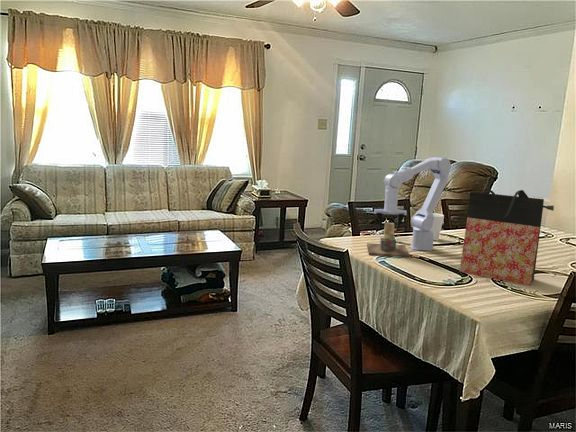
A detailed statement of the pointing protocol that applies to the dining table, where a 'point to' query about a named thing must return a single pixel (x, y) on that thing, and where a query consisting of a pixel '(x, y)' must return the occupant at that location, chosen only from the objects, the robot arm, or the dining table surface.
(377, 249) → the stand base
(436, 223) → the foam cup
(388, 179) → the robot arm
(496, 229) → the gift bag
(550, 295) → the dining table surface
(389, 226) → the post
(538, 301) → the dining table surface
